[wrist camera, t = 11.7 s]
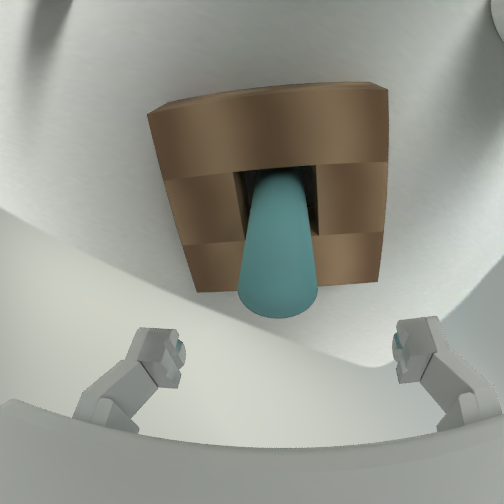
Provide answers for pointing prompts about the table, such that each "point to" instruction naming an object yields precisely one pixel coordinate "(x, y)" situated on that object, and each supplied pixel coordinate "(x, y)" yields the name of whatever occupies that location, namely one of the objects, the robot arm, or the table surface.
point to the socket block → (275, 156)
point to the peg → (278, 247)
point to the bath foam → (498, 16)
